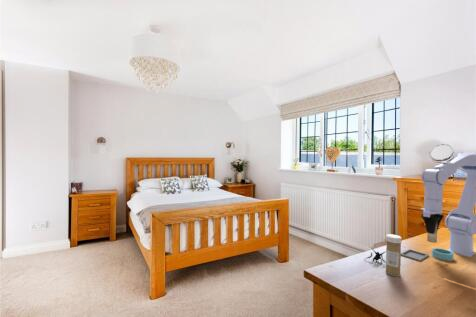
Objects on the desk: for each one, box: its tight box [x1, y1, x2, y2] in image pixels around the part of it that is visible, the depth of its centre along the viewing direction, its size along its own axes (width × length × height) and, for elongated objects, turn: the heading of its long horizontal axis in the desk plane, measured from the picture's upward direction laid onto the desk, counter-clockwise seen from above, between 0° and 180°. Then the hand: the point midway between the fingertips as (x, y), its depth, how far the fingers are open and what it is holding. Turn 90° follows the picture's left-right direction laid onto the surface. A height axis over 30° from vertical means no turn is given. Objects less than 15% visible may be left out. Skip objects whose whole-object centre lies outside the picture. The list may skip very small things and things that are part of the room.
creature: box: [364, 247, 386, 265], centre depth 95 cm, size 8×5×8 cm
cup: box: [431, 247, 455, 262], centre depth 101 cm, size 7×7×3 cm
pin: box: [426, 224, 438, 244], centre depth 100 cm, size 3×3×8 cm
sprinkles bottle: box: [385, 233, 403, 277], centre depth 87 cm, size 5×5×14 cm
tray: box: [401, 248, 430, 262], centre depth 102 cm, size 9×7×1 cm
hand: (432, 232), depth 100 cm, fingers closed on pin, 3 cm apart
